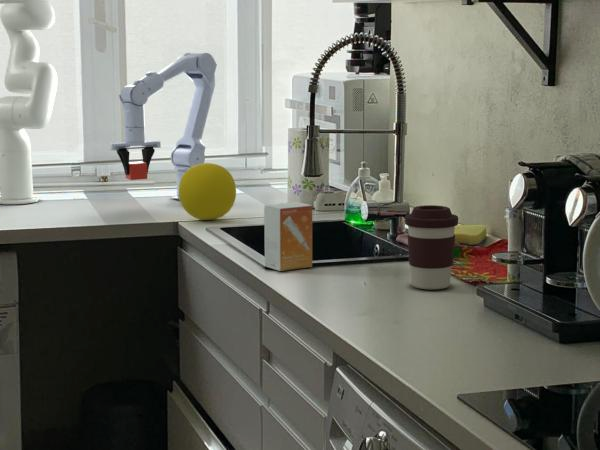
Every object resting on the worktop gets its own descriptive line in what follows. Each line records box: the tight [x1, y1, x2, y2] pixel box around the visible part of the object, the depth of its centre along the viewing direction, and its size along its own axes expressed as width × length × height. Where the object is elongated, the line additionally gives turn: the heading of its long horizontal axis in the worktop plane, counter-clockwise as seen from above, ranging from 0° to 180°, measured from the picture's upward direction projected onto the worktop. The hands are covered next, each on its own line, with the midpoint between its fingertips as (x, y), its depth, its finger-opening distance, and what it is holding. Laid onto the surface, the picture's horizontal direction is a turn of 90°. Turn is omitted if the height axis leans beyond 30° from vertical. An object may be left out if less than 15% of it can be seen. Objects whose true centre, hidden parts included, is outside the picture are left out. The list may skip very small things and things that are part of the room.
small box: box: [263, 201, 313, 272], centre depth 215 cm, size 8×6×13 cm
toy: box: [179, 162, 237, 221], centre depth 277 cm, size 15×15×15 cm
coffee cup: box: [404, 204, 459, 291], centre depth 197 cm, size 10×10×15 cm
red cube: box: [125, 160, 148, 181], centre depth 303 cm, size 5×5×5 cm
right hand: (136, 173), depth 303 cm, fingers closed on red cube, 5 cm apart
